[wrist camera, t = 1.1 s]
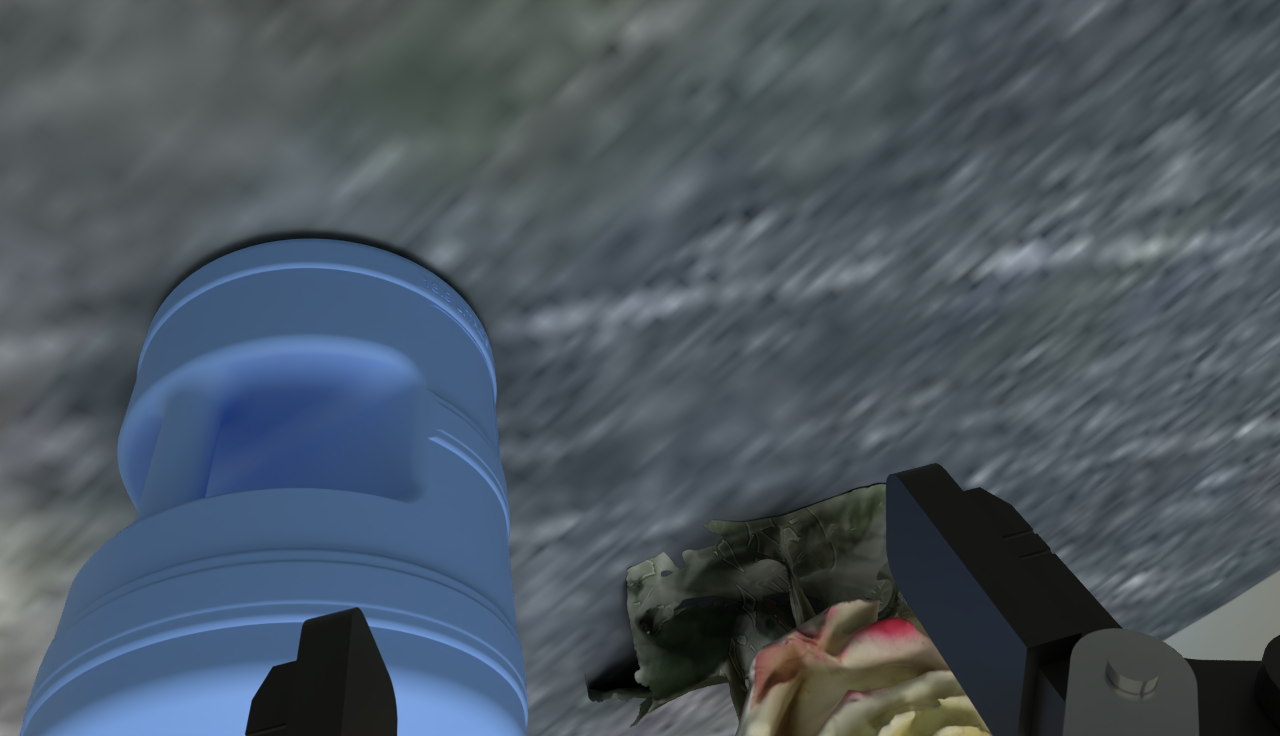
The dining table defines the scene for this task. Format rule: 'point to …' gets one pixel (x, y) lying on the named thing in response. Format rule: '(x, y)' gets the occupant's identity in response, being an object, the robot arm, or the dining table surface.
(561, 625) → the dining table surface
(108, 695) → the water jug
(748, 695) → the rose bouquet
